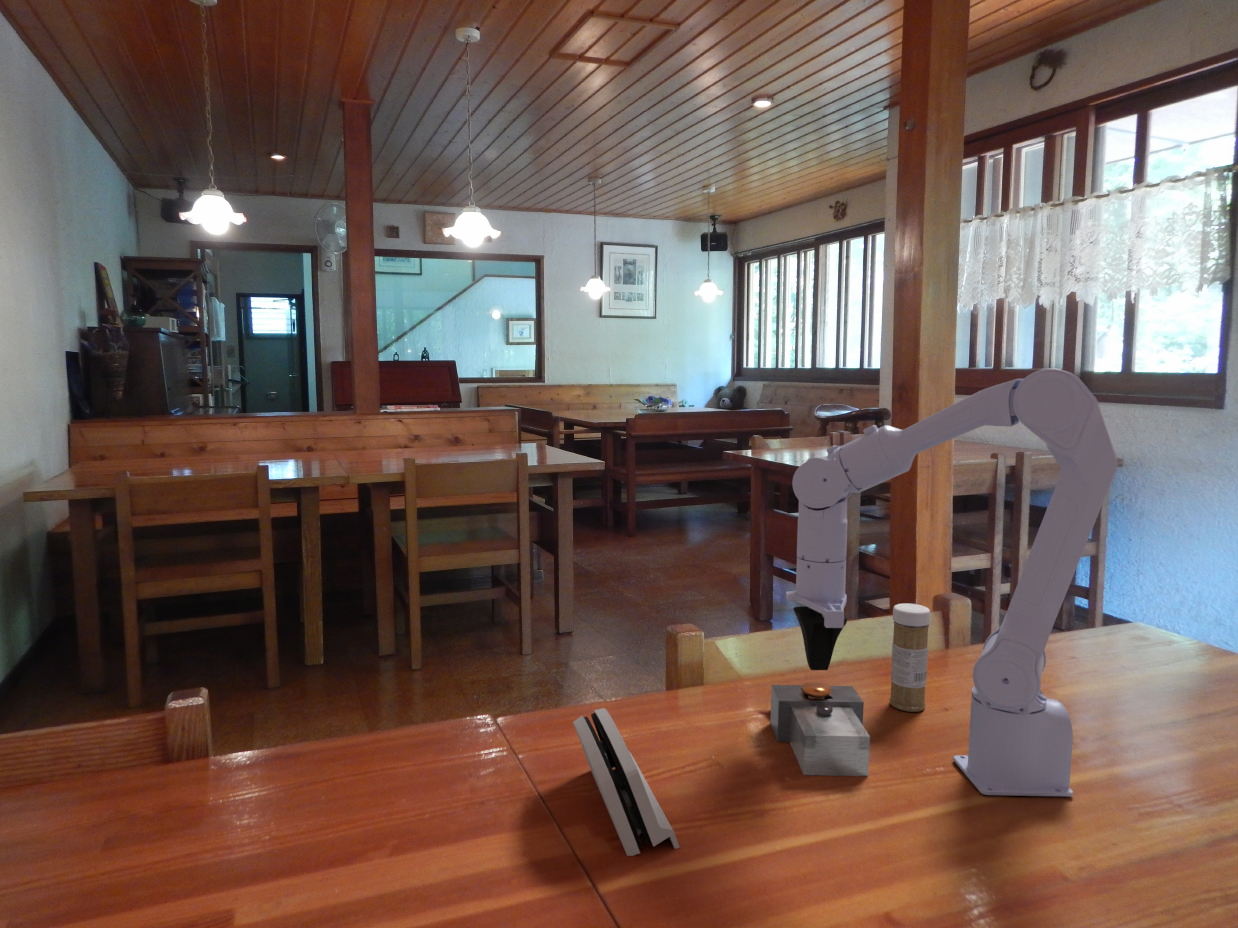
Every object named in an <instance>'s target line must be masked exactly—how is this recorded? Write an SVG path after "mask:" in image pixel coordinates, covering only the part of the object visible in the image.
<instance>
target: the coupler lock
mask: <svg viewBox="0 0 1238 928" xmlns="http://www.w3.org/2000/svg"><path fill="white" fill-rule="evenodd" d="M870 743H871V735H870V734H869V733H868V731H867V730H866V728H865V727H864V724H863V725H862V724H861V722H860V721H859V719H858V717H857V716H856V714H855V713H854V711H853V710H852V708H851V707H850V706H828V705H818V706H798V705H791V712H790V742H789V744H790V746H791V748H792V751H793V753H794V756H795V758H796V761H797V762H798V766H799V768H800V770H801V772H802V775H803V776H831V777H832V776H834V777H835V776H836V777H837V776H839V777H842V776H844V777H869V769H870V767H869V766H870V748H871V747H870V745H871V744H870Z"/></svg>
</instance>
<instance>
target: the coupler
mask: <svg viewBox="0 0 1238 928" xmlns="http://www.w3.org/2000/svg"><path fill="white" fill-rule="evenodd" d="M802 686H803V684H771V693H770V694H771V695H770V726H771V728H772V731H773V734H774V737H775V739H776V741H777V742H780V743H781V742H785V743H786V742H787V743H790V712H791V705H798V706H818V705H828V706H850V707H851V708H852V710H853V711H854V713H855V714H856V716H857V717H858V719H859V721H860V722H861V724H862V725H863V726H864V707H865V706H864V705H865V704H864V703H865V702H864V701H863V699H862V698H861V696H860V695H859V694H858V692H857V690H856V689H855V688H854V686H853V685H829V686H830V687H831V695H830V696H829V697H825V699H808V696H807V695H805V694H804V693H803V692H802Z"/></svg>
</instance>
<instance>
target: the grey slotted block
mask: <svg viewBox="0 0 1238 928" xmlns="http://www.w3.org/2000/svg"><path fill="white" fill-rule="evenodd" d="M590 717H591V719H592V722H591V720H590V719H589V717H588V716H583V715H580V717H578V718H577V719H575V720H574V721H573V722H572V724H573V726H574V729H575V731H576V734H577V736H578V739H579V742H580V745H581V748H582V750H583V752H584V753H583V754H584V755H585V758H586V760H587V764H588V766H589V769H590V772H591V774H592V776H593V778H594V781H595V783H596V786H597V788H598V790H599V792H600V794H601V797H602V800H603V802H604V804H605V806H606V809H607V812H608V814H609V816H610V819H611V821H612V823H613V825H614V828H615V831H616V833H617V835H618V837H619V839H620V843H621V844H622V846H623V849H624V852H625V853H626V856H627V857H629V856H631V857H634V856H636V855H640V854H641V851H640V849H641V848H642V847H643V844H642V841H641V839H640V836H641V834H642V836H643V839H644V840H645V843H646V844H647V845H649V844H651V845H652V846H653V847H655V846H657V845H659V844H660V843H663V841H665V840H667V839H669V840H670V842H671V845H672V846H673V848H674V850H675V849H678V848H679V849H680V843H679V842H678V839H677V836H676V833H675V831H674V829H673V827H672V825H671V824H670V822H669V820H668V819H667V817H666V815H665V813H664V811H663V810H662V809H663V808H661V805H660V803H659V802H658V800H657V798H656V797H655V794H654V792H653V791H652V789H651V787H650V785H649V783H648V782H647V780H646V778H645V776H644V775H643V772H642V771H641V769H640V767H639V766H638V763H637V761H636V760H635V758H634V756H633V755H632V753H631V751H629V749H628V747H627V745H626V743H625V741H624V739H623V736H622V735H621V733H620V731H619V729H618V726H617V725H616V723H615V722H614V720H613V718H612V716H611V714H610V713H609V712H608V710H607V709H606V708H605V707H603V708H599V709H594V710H593V713H591V714H590ZM592 723H593V724H592ZM593 725H594V726H593ZM594 727H595V728H594ZM613 768H614V769H613Z"/></svg>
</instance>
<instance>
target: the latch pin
mask: <svg viewBox="0 0 1238 928" xmlns="http://www.w3.org/2000/svg"><path fill="white" fill-rule="evenodd" d="M802 685H803V686H802V692H803V693H804V694H805V695H807V696H808V699H825V697H829V696H830V695H831V687H830V686H831V685H828V684H826V683H823V682H818V681H810V682H809V681H808V682H805V683H803V684H802Z"/></svg>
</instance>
